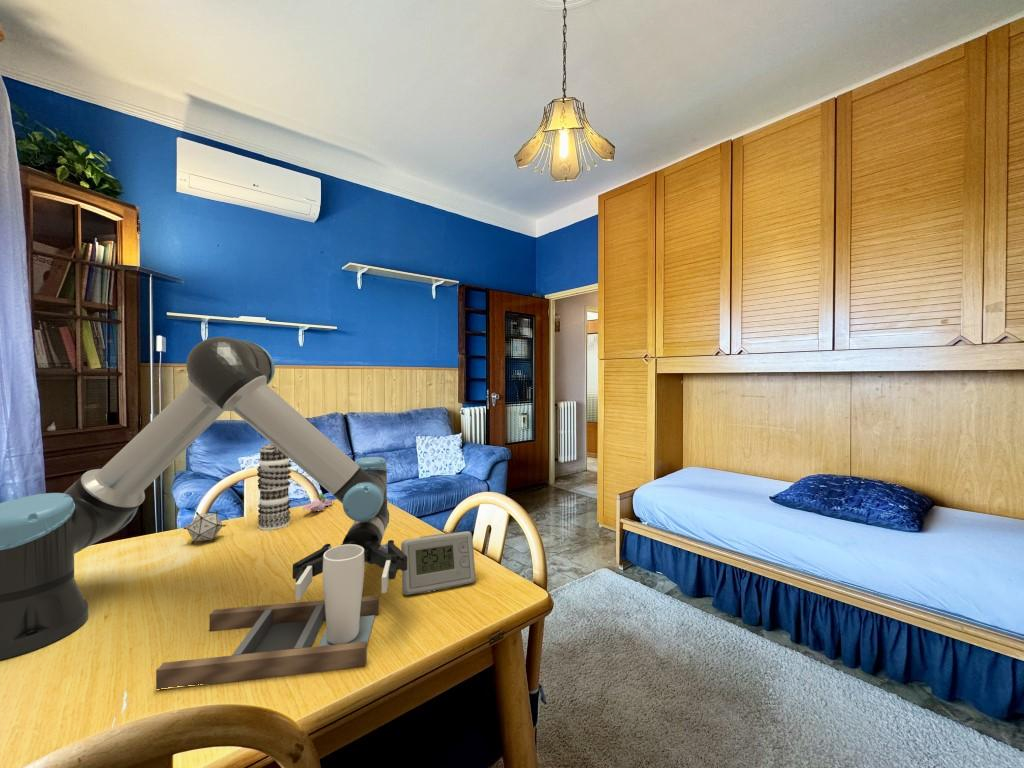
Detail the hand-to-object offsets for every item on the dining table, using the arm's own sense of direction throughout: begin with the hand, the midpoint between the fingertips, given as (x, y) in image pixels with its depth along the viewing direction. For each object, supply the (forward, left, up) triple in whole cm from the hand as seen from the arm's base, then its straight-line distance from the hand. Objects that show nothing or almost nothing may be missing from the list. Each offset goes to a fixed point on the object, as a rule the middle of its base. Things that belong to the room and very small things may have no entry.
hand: (341, 588), depth 68 cm
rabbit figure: (-24, +76, -11) cm, 80 cm away
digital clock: (+16, +19, -11) cm, 27 cm away
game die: (-48, +54, -11) cm, 73 cm away
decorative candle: (-34, +64, -11) cm, 73 cm away
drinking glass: (-1, +3, -10) cm, 11 cm away
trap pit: (-10, +3, -10) cm, 15 cm away
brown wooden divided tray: (-10, +3, -10) cm, 15 cm away
